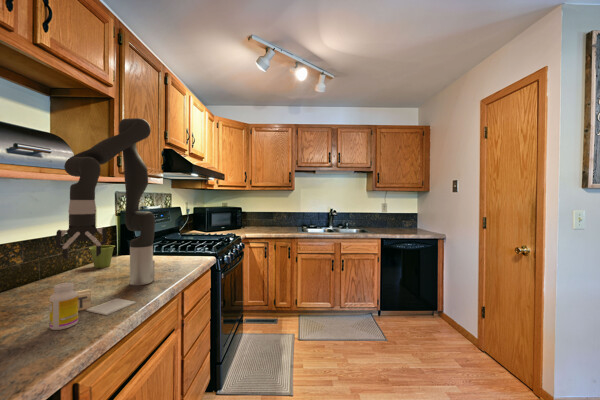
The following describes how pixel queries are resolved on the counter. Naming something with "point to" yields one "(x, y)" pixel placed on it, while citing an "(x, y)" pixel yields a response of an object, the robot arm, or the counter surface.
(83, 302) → the tan cube block
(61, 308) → the supplement bottle
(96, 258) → the plant pot
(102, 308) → the mat
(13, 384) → the counter surface
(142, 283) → the robot arm
